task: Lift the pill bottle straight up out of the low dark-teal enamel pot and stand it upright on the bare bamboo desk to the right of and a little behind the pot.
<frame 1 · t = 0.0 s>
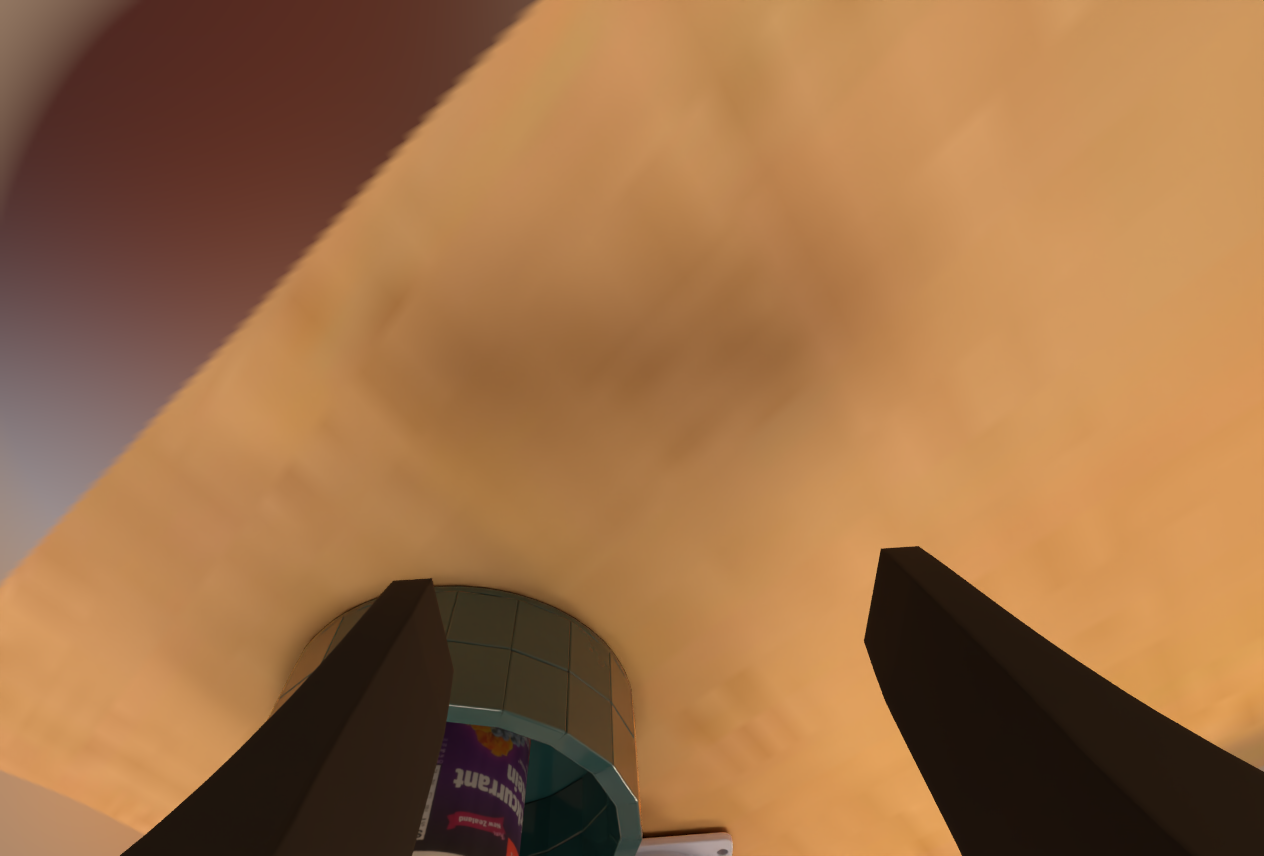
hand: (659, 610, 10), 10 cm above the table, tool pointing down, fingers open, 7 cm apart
pill bottle: (465, 716, 26), resting on pot
pot: (466, 713, 26), on the table
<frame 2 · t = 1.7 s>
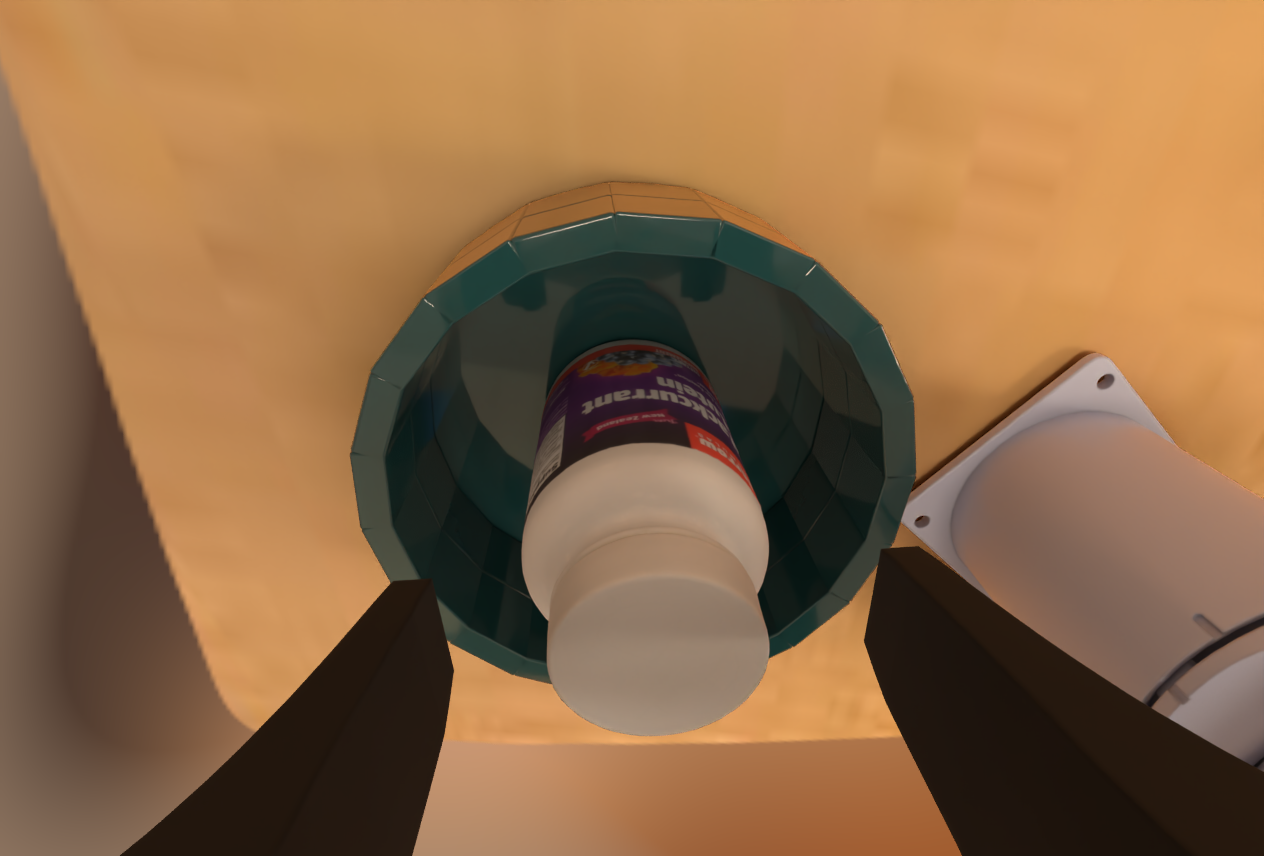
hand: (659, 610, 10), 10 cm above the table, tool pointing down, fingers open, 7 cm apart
pill bottle: (629, 413, 20), resting on pot
pot: (629, 411, 20), on the table
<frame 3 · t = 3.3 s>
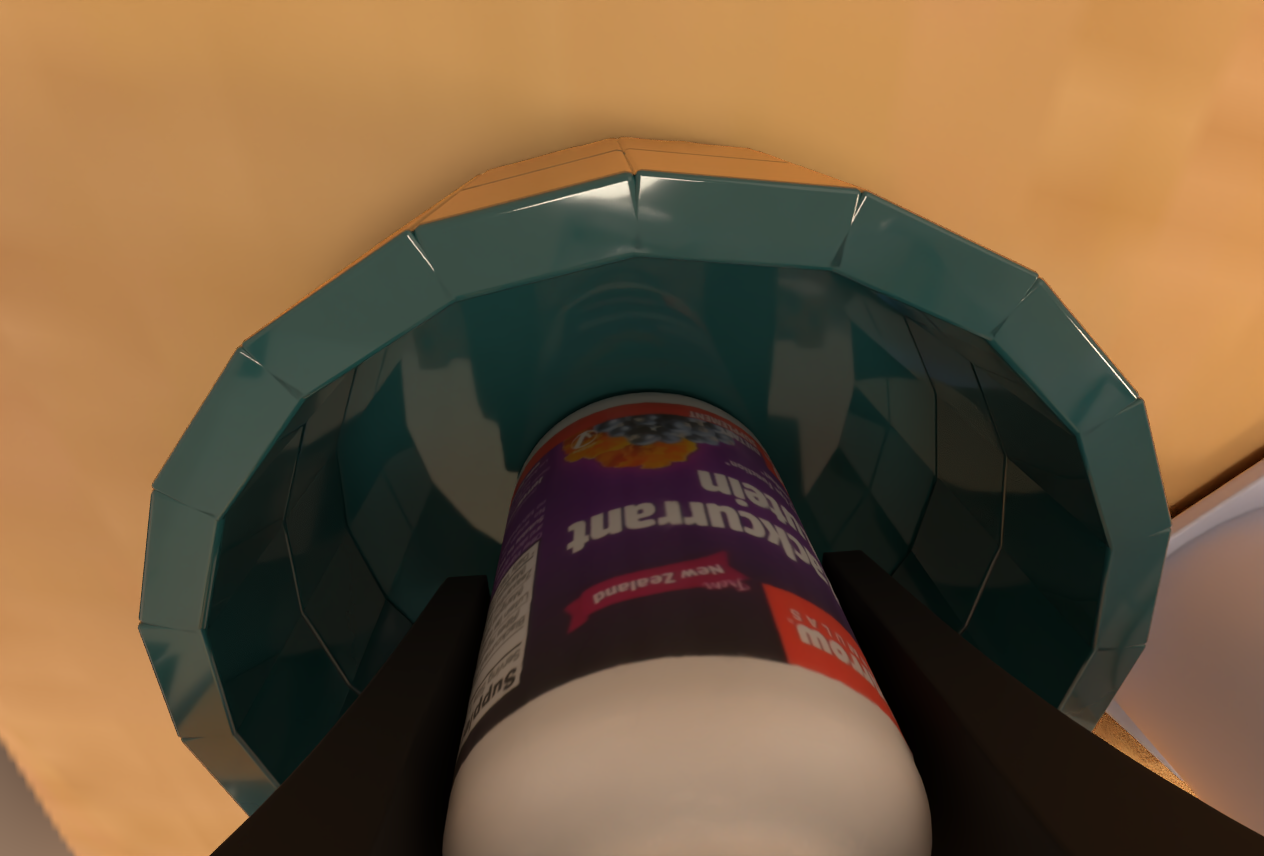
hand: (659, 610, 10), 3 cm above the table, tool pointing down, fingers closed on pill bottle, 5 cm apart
pill bottle: (643, 496, 13), resting on pot, touching gripper
pot: (643, 493, 13), on the table
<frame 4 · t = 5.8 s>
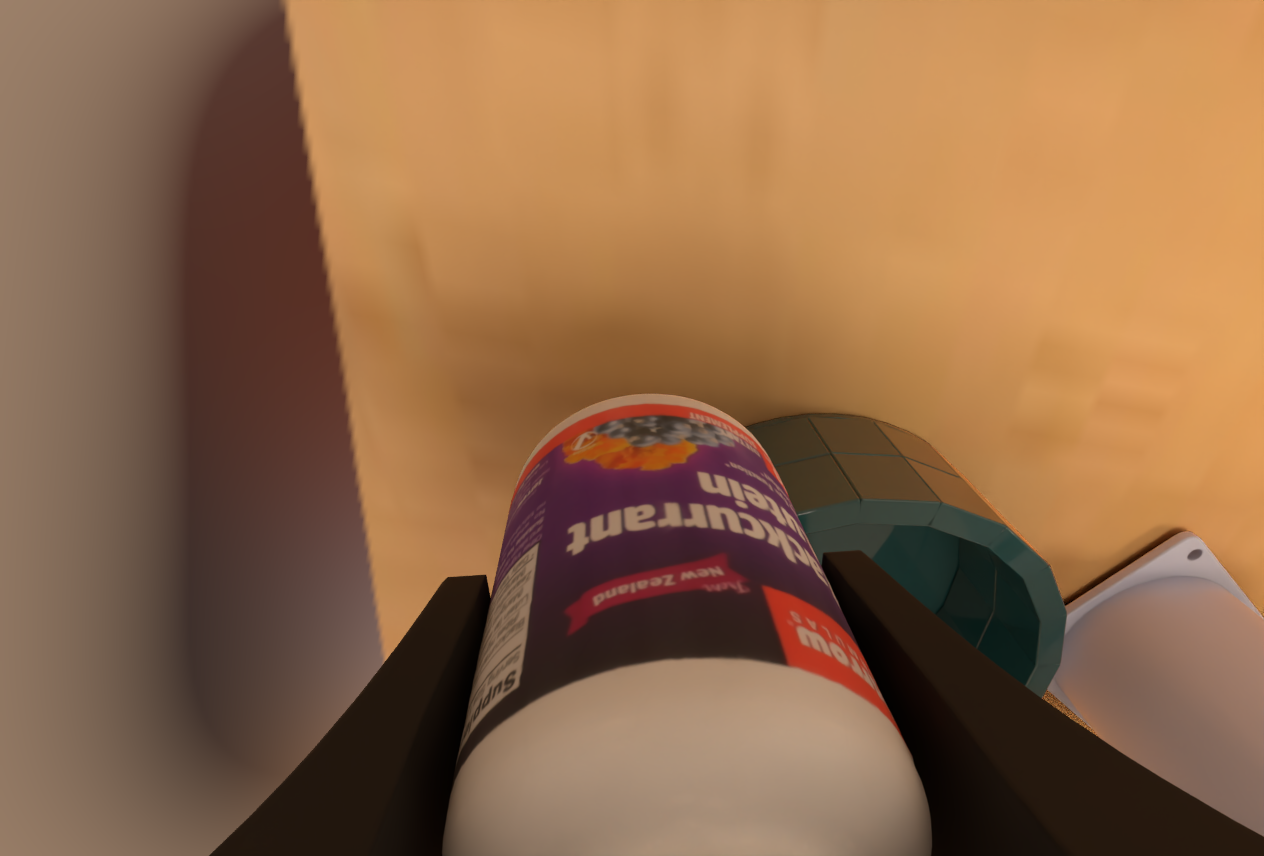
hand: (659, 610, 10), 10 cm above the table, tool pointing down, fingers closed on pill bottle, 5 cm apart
pill bottle: (643, 497, 13), point 7 cm above the table, touching gripper
pot: (793, 575, 24), on the table
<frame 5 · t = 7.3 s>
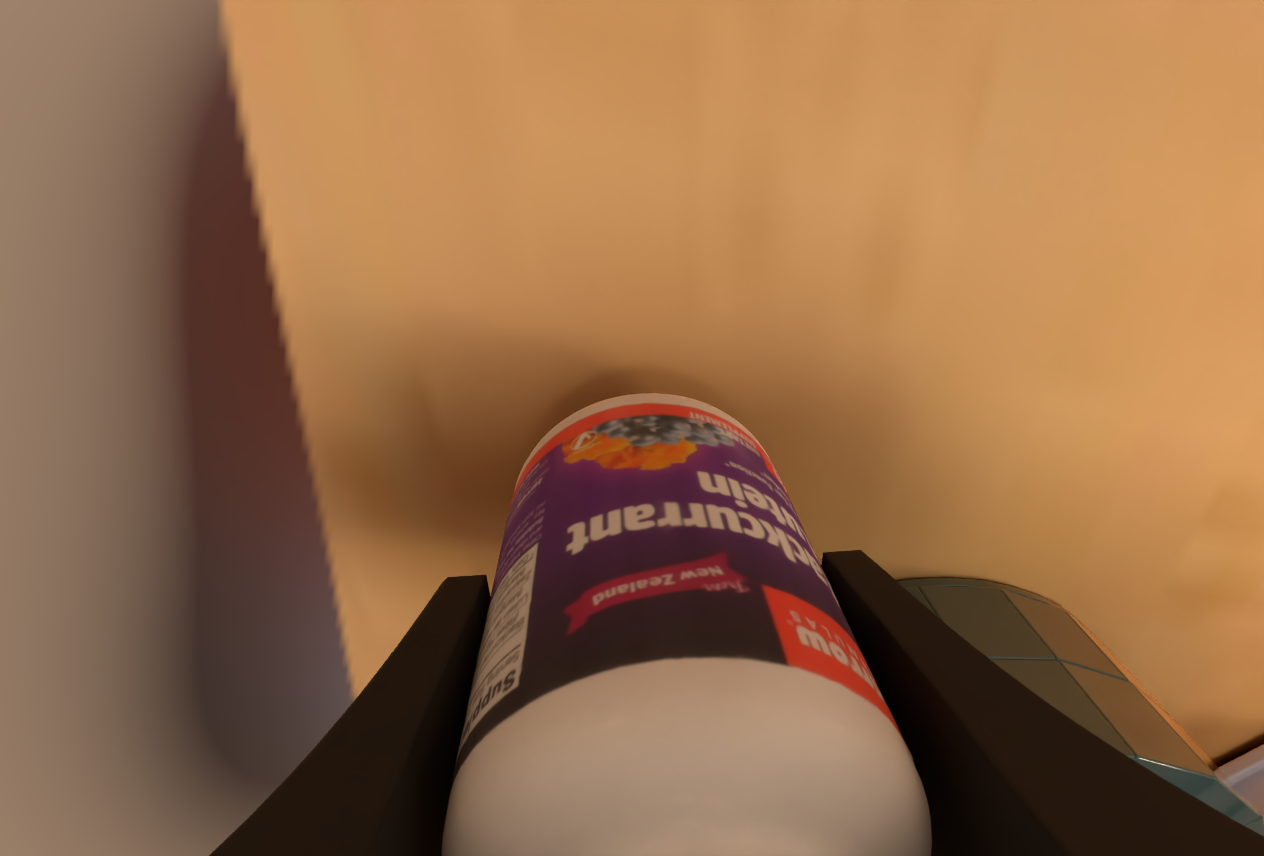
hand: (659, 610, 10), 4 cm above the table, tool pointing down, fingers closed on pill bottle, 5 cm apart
pill bottle: (643, 497, 13), point 1 cm above the table, touching gripper
pot: (881, 749, 20), on the table
when the fingers open (3 cm above the table, at t = 8.3 s): pill bottle stays where it is, on the table.
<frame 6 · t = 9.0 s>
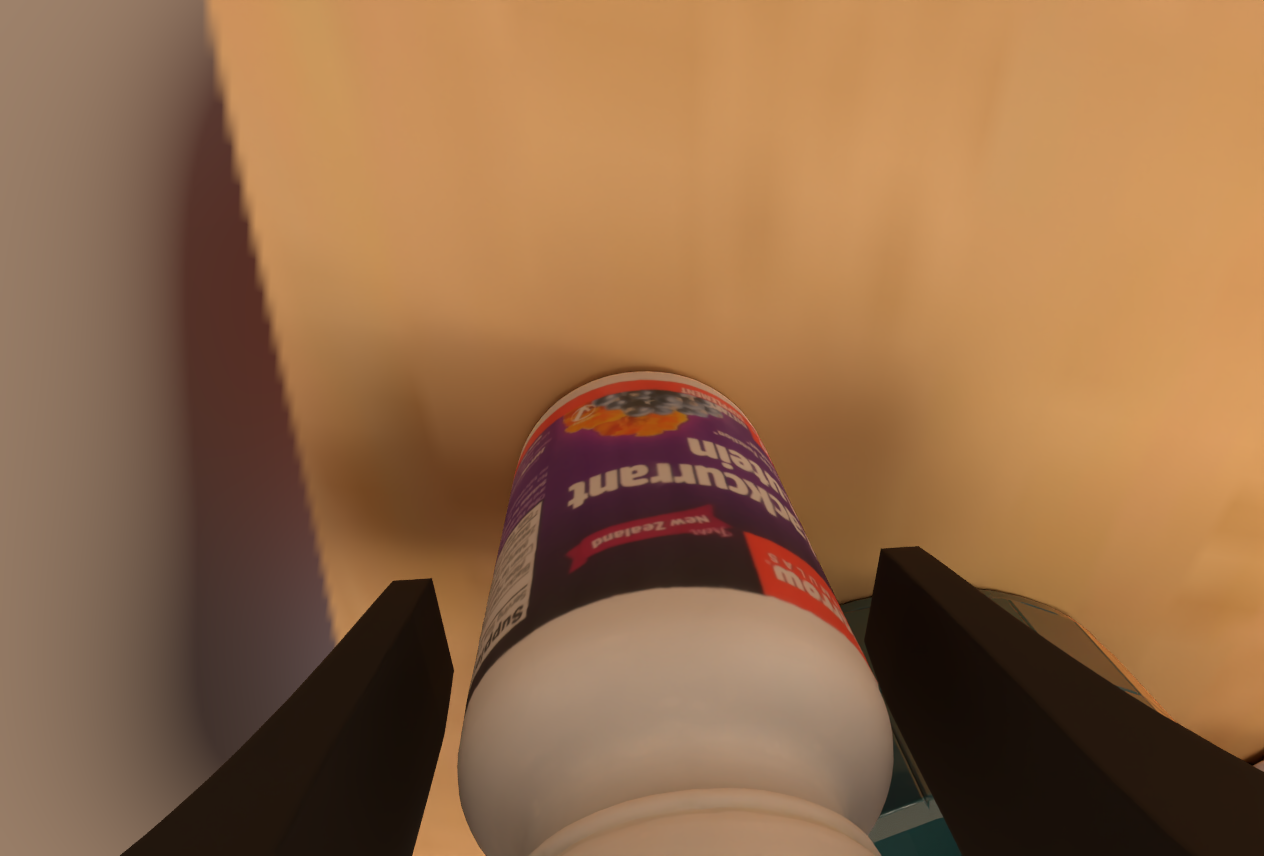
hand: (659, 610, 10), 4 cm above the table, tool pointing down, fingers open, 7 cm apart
pill bottle: (639, 471, 14), on the table
pot: (886, 760, 19), on the table
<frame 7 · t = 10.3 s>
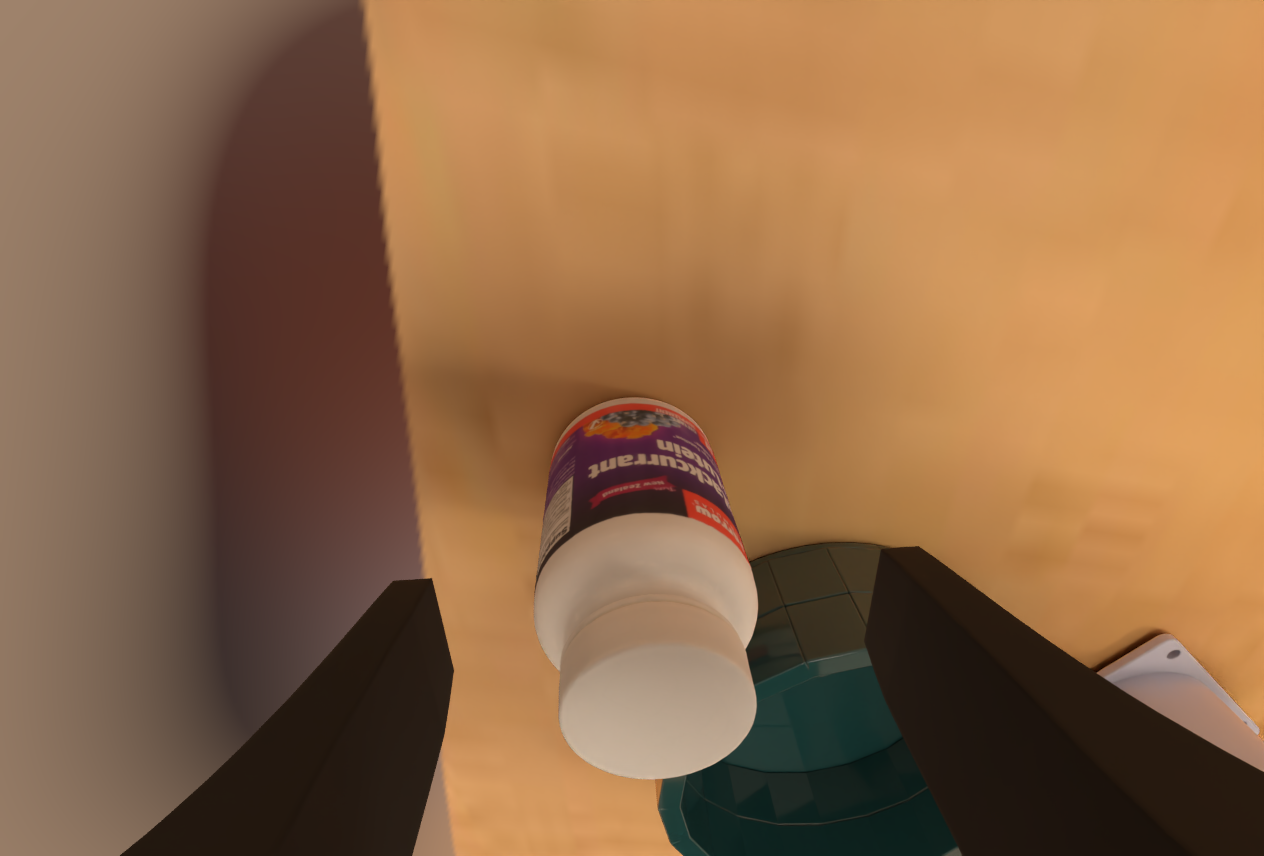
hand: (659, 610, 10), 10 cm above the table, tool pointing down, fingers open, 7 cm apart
pill bottle: (630, 461, 21), on the table
pot: (811, 673, 26), on the table
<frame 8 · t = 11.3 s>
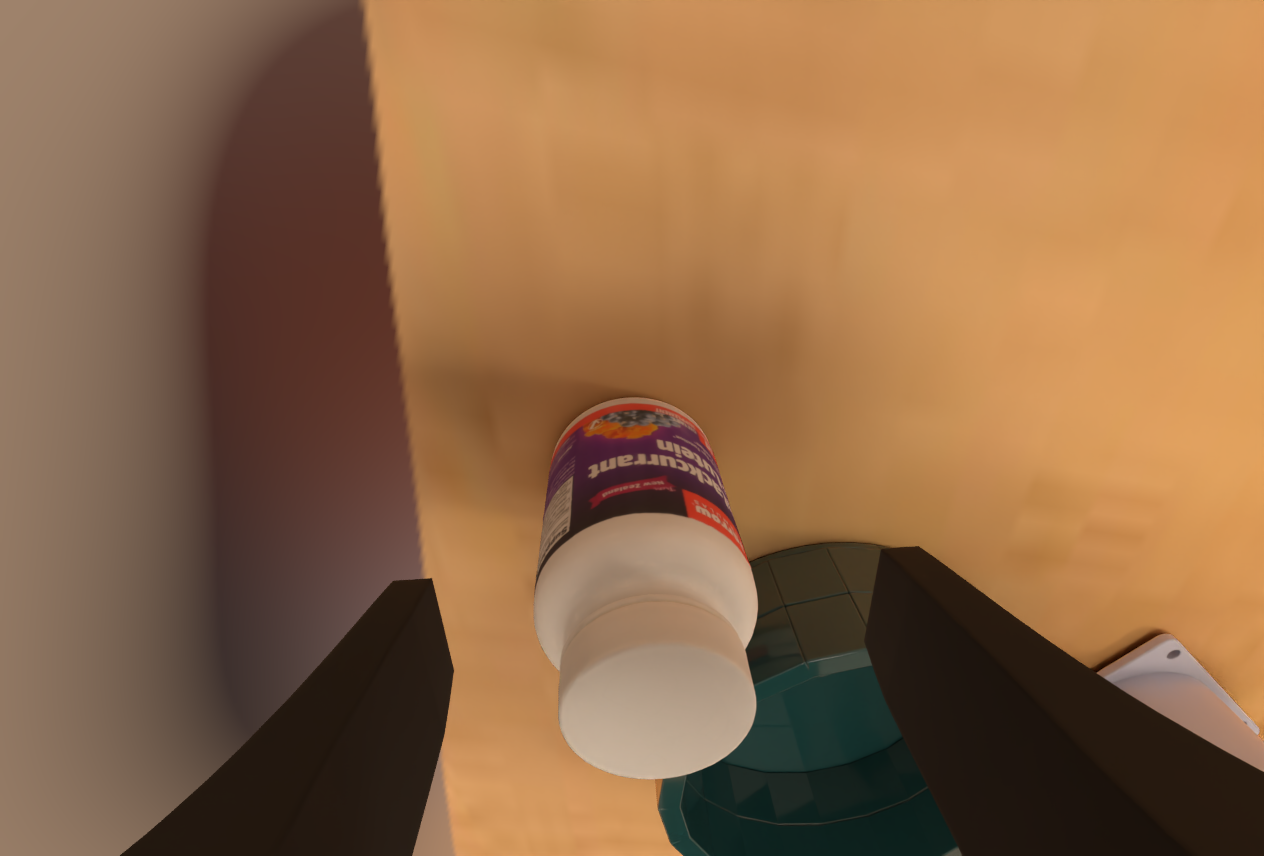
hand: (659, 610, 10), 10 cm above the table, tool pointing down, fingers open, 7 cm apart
pill bottle: (630, 461, 21), on the table
pot: (811, 673, 26), on the table
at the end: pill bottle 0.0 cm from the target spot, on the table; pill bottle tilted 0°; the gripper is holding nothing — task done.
